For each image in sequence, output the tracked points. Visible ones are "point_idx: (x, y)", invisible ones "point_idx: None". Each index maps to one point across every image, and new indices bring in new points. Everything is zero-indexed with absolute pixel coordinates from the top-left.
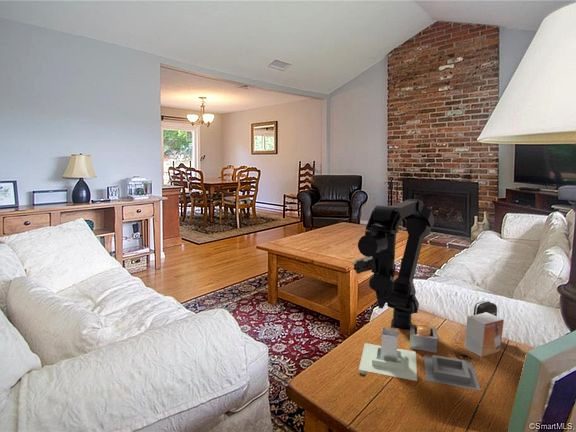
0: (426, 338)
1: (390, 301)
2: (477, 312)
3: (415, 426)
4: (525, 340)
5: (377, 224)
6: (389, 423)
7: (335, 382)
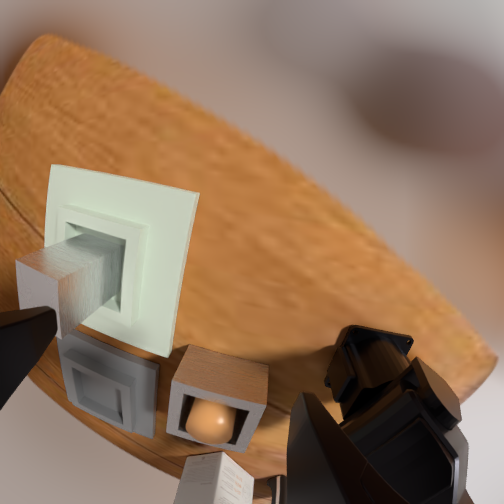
0: (168, 411)
1: (389, 393)
2: None
3: None
4: None
5: None
6: None
7: (33, 112)
